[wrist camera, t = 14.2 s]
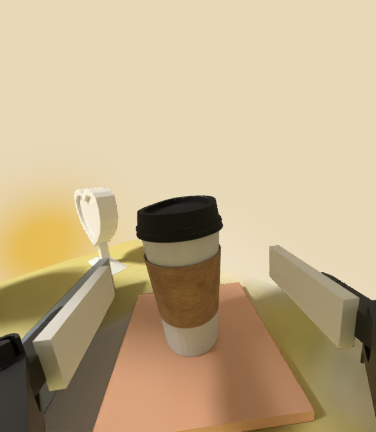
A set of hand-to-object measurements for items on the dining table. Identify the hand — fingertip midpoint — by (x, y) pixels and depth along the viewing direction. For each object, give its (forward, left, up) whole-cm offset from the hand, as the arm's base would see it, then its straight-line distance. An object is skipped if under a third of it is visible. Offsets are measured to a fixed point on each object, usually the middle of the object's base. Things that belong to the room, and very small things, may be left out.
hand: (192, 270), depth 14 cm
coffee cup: (-3, +3, -10) cm, 11 cm away
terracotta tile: (-3, +3, -11) cm, 11 cm away
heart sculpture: (-31, +11, -11) cm, 35 cm away
